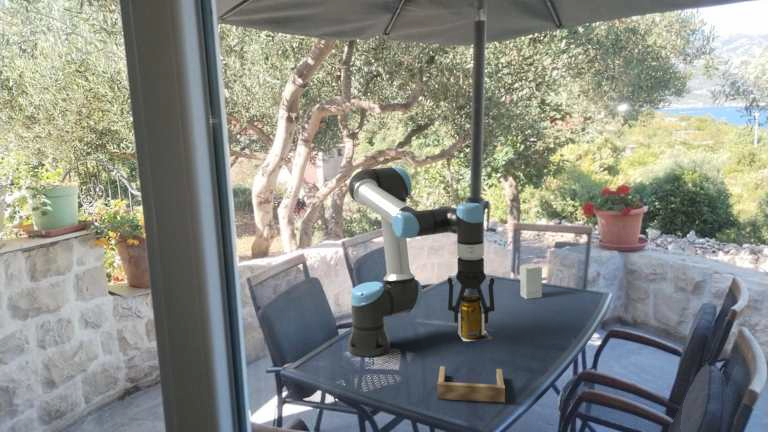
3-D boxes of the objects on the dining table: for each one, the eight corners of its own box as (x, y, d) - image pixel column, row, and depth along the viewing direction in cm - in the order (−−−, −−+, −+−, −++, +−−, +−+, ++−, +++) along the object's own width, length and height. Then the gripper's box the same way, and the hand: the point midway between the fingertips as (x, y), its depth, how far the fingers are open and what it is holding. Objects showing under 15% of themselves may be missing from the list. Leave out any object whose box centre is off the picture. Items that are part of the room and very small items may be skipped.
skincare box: (535, 293, 234) (536, 263, 232) (542, 297, 228) (543, 266, 226) (519, 295, 232) (519, 264, 230) (525, 299, 226) (526, 268, 224)
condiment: (457, 332, 150) (456, 294, 148) (484, 330, 150) (484, 292, 149) (463, 342, 143) (462, 301, 141) (492, 339, 143) (491, 300, 142)
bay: (437, 398, 143) (437, 384, 143) (440, 375, 158) (440, 361, 157) (504, 402, 140) (504, 387, 140) (501, 378, 154) (501, 364, 154)
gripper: (437, 260, 141) (438, 337, 144) (505, 260, 138) (505, 339, 142) (438, 254, 148) (439, 327, 152) (503, 254, 145) (503, 329, 149)
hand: (471, 333), depth 147 cm, fingers closed on condiment, 6 cm apart
